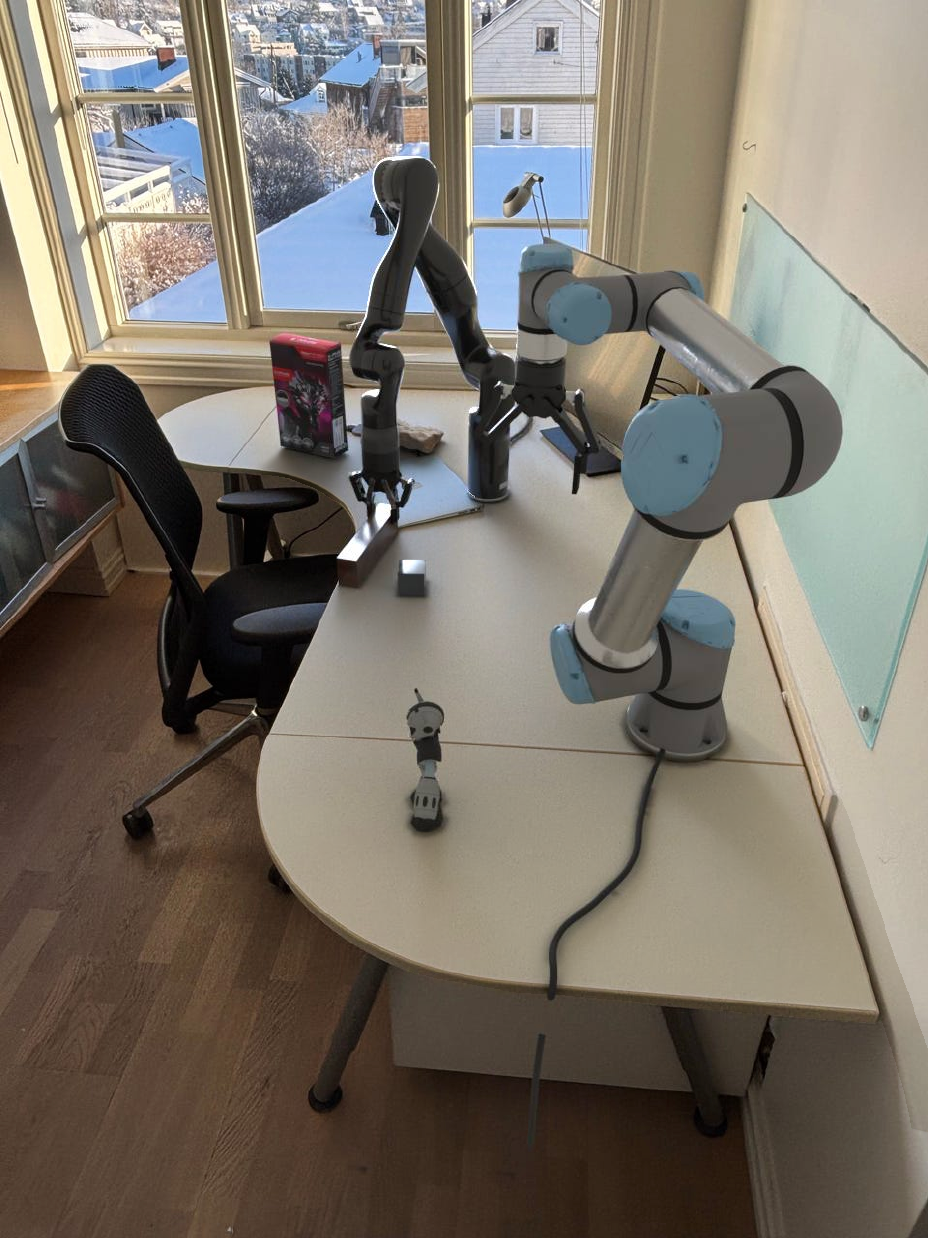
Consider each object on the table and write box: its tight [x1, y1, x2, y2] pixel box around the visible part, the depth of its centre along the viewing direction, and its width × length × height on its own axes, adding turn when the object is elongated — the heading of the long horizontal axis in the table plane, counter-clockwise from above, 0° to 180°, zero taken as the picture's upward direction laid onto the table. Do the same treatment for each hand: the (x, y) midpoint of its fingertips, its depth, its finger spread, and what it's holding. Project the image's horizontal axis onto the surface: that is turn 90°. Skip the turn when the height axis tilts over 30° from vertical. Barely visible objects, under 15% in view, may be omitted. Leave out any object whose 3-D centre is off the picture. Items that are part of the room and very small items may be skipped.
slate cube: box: [397, 559, 427, 597], centre depth 176 cm, size 5×5×5 cm
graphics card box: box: [268, 332, 349, 459], centre depth 224 cm, size 17×7×27 cm, turn 62°
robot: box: [405, 687, 445, 833], centre depth 123 cm, size 20×5×20 cm, turn 3°
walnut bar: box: [336, 502, 399, 589], centre depth 186 cm, size 24×4×6 cm, turn 165°
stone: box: [397, 417, 444, 454], centre depth 233 cm, size 21×15×6 cm
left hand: (383, 520), depth 192 cm, fingers closed on walnut bar, 4 cm apart
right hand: (533, 485), depth 149 cm, fingers open, 13 cm apart
